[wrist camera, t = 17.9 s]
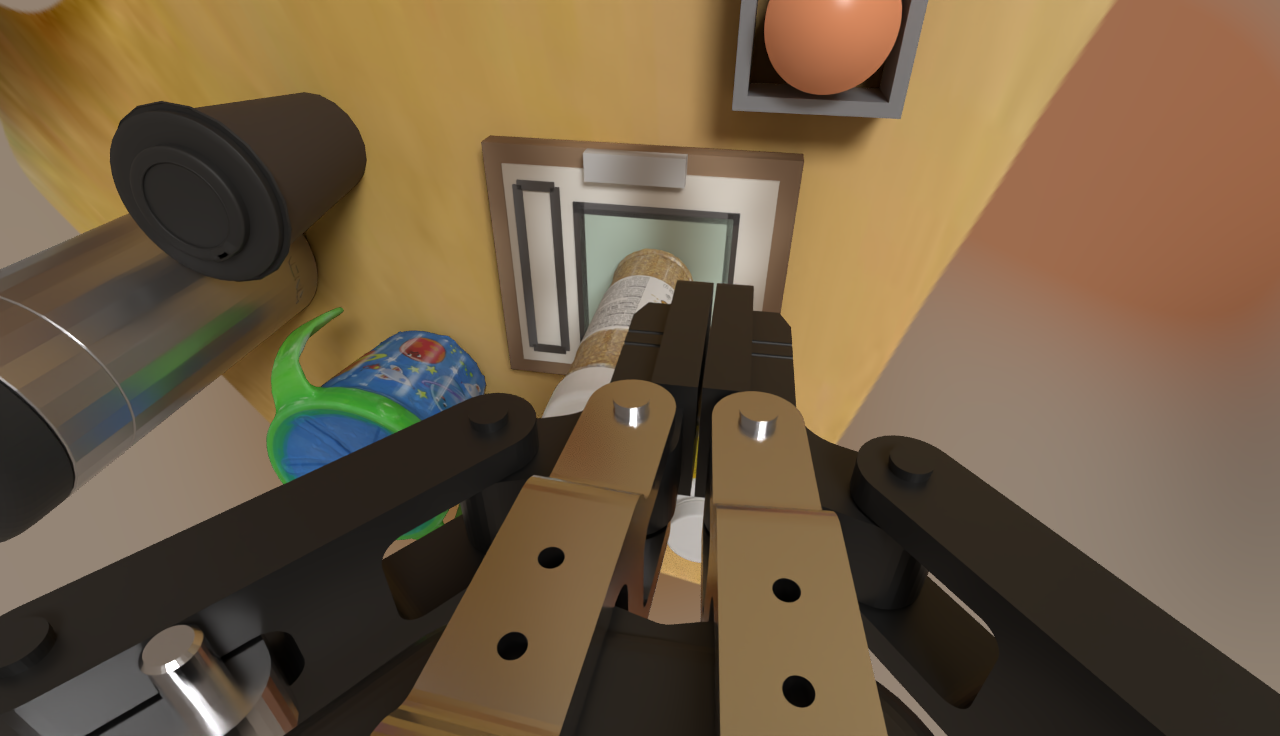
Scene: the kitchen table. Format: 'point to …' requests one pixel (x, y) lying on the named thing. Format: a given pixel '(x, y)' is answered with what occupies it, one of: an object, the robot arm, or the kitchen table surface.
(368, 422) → the snack cup
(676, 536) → the supplement bottle
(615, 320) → the spice bottle
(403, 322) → the kitchen table surface
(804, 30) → the button
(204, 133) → the coffee cup
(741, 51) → the button collar
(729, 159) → the colouring board
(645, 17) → the kitchen table surface
